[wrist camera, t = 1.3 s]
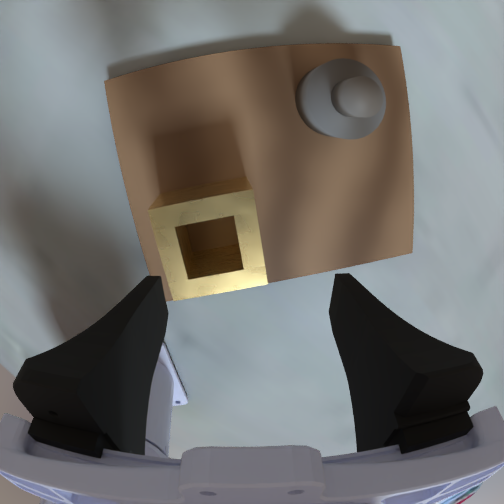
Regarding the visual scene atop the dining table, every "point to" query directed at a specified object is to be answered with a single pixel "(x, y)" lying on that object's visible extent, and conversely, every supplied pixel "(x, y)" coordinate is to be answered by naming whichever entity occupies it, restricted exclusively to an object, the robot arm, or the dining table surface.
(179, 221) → the brass collar
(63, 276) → the dining table surface
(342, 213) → the peg board
